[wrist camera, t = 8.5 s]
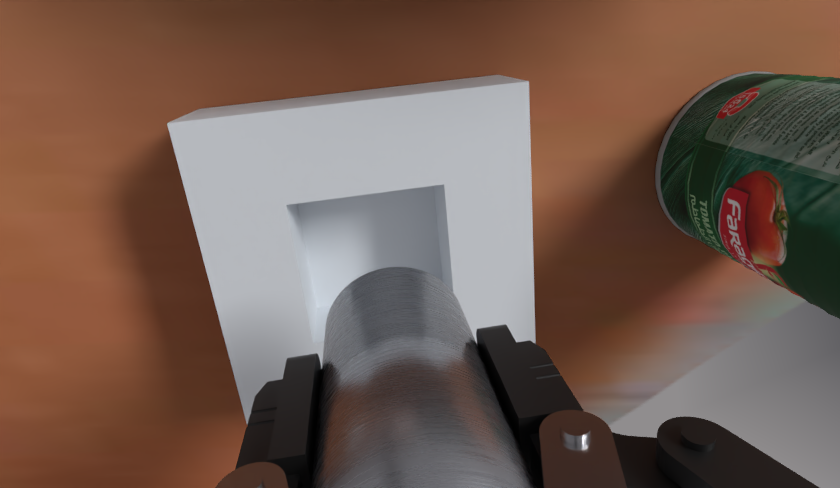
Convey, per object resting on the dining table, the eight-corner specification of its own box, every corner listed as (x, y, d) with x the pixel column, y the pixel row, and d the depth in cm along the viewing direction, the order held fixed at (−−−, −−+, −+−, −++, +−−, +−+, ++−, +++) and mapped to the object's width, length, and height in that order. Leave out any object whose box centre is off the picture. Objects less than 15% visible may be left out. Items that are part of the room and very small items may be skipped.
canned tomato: (624, 212, 25) (816, 329, 15) (710, 42, 23) (1007, 42, 13) (757, 261, 27) (1009, 395, 17) (849, 109, 25) (1206, 156, 14)
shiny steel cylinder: (337, 399, 16) (319, 887, 7) (314, 277, 15) (250, 684, 5) (469, 378, 16) (625, 817, 7) (458, 256, 15) (637, 608, 6)
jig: (264, 382, 26) (251, 440, 22) (198, 109, 21) (167, 123, 17) (510, 344, 27) (536, 392, 23) (497, 74, 22) (528, 81, 18)
